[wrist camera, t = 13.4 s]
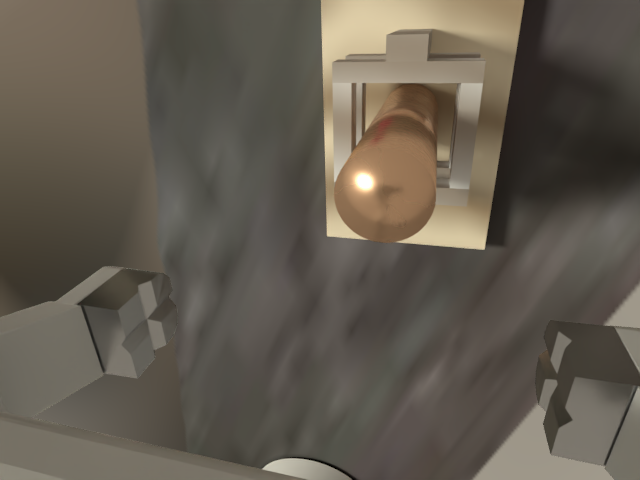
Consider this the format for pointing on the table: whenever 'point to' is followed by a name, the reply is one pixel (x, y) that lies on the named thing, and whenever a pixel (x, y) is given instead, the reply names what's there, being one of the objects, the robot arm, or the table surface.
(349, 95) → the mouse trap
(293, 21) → the table surface
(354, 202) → the brown rounded cylinder
